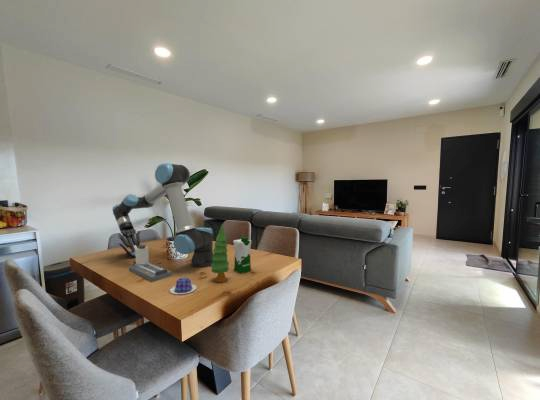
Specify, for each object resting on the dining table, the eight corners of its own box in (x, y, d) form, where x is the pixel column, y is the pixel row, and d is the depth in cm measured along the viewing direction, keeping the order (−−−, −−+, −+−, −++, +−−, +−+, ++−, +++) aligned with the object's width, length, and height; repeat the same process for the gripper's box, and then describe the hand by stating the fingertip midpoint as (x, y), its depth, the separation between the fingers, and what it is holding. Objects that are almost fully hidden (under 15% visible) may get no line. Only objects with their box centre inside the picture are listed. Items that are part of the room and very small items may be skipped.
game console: (146, 256, 174) (146, 243, 173) (124, 260, 164) (123, 246, 164) (140, 252, 185) (139, 240, 185) (119, 255, 176) (118, 242, 175)
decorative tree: (232, 279, 130) (232, 223, 128) (218, 285, 123) (217, 225, 121) (221, 275, 136) (220, 221, 135) (206, 280, 129) (206, 223, 128)
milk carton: (241, 274, 138) (241, 239, 137) (231, 270, 144) (231, 236, 143) (253, 270, 144) (253, 237, 143) (243, 267, 151) (243, 234, 149)
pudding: (198, 284, 124) (198, 274, 124) (193, 295, 113) (193, 284, 112) (174, 285, 123) (173, 275, 123) (166, 296, 111) (166, 285, 111)
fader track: (129, 270, 144) (128, 262, 144) (147, 265, 153) (147, 258, 153) (152, 281, 127) (151, 273, 127) (171, 275, 136) (171, 268, 135)
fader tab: (135, 265, 145) (134, 245, 144) (145, 263, 149) (145, 243, 149) (139, 267, 142) (138, 246, 141) (149, 264, 146) (149, 245, 146)
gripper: (134, 227, 165) (146, 256, 156) (112, 230, 155) (124, 261, 146) (137, 220, 162) (150, 249, 152) (115, 222, 151) (127, 254, 142)
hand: (137, 255), depth 149 cm, fingers closed
